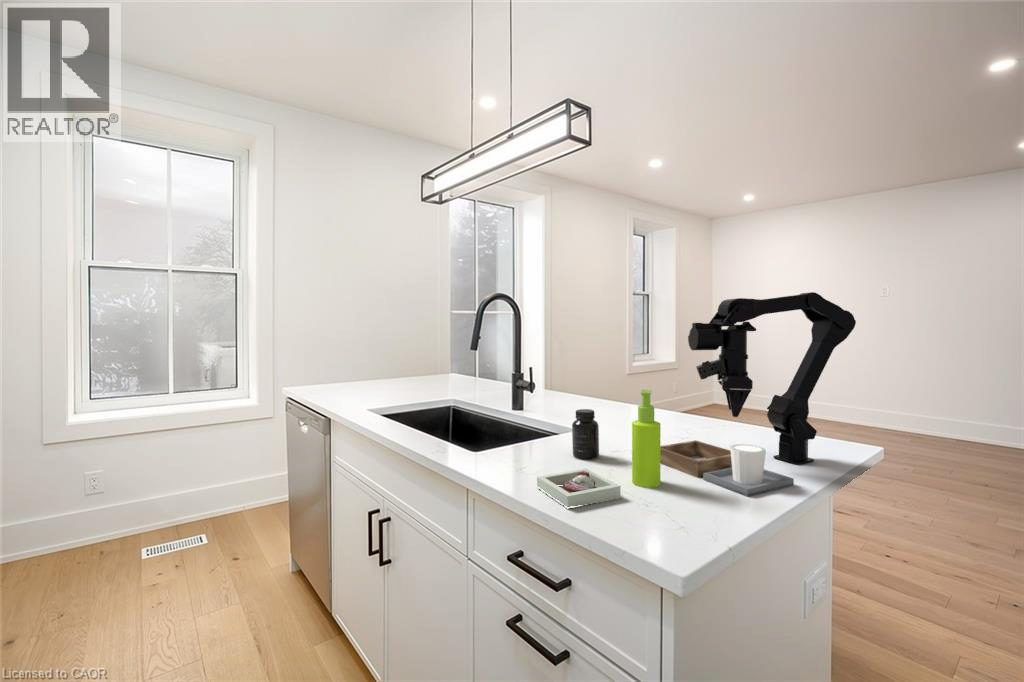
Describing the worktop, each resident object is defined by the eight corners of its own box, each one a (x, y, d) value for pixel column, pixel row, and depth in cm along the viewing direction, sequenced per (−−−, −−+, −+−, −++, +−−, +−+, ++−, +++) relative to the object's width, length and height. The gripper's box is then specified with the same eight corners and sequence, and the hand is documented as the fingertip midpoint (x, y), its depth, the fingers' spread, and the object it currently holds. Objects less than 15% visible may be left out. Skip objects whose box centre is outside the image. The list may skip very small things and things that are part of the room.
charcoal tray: (747, 470, 107) (747, 464, 107) (793, 485, 97) (793, 478, 97) (703, 479, 102) (703, 472, 101) (747, 496, 92) (747, 489, 91)
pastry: (605, 493, 95) (604, 469, 95) (593, 506, 88) (593, 480, 88) (568, 487, 98) (568, 464, 98) (554, 499, 92) (554, 474, 92)
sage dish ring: (585, 479, 103) (585, 468, 102) (620, 498, 91) (620, 485, 91) (537, 488, 97) (536, 476, 97) (567, 509, 86) (567, 496, 86)
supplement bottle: (580, 451, 125) (579, 407, 124) (603, 455, 121) (603, 409, 120) (567, 457, 119) (567, 411, 119) (591, 461, 115) (591, 414, 115)
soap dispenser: (660, 478, 103) (660, 388, 102) (660, 488, 96) (660, 393, 96) (633, 475, 105) (633, 387, 104) (631, 485, 98) (630, 392, 97)
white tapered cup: (770, 486, 96) (770, 453, 95) (734, 484, 97) (735, 451, 96) (759, 475, 102) (759, 444, 102) (726, 474, 104) (726, 443, 103)
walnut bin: (695, 453, 121) (695, 440, 121) (742, 468, 109) (742, 453, 109) (654, 460, 116) (654, 446, 115) (697, 477, 103) (698, 462, 103)
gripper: (697, 347, 125) (697, 404, 126) (699, 352, 107) (699, 418, 108) (743, 347, 121) (742, 407, 122) (753, 352, 104) (752, 421, 104)
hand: (733, 413), depth 114 cm, fingers open, 9 cm apart
